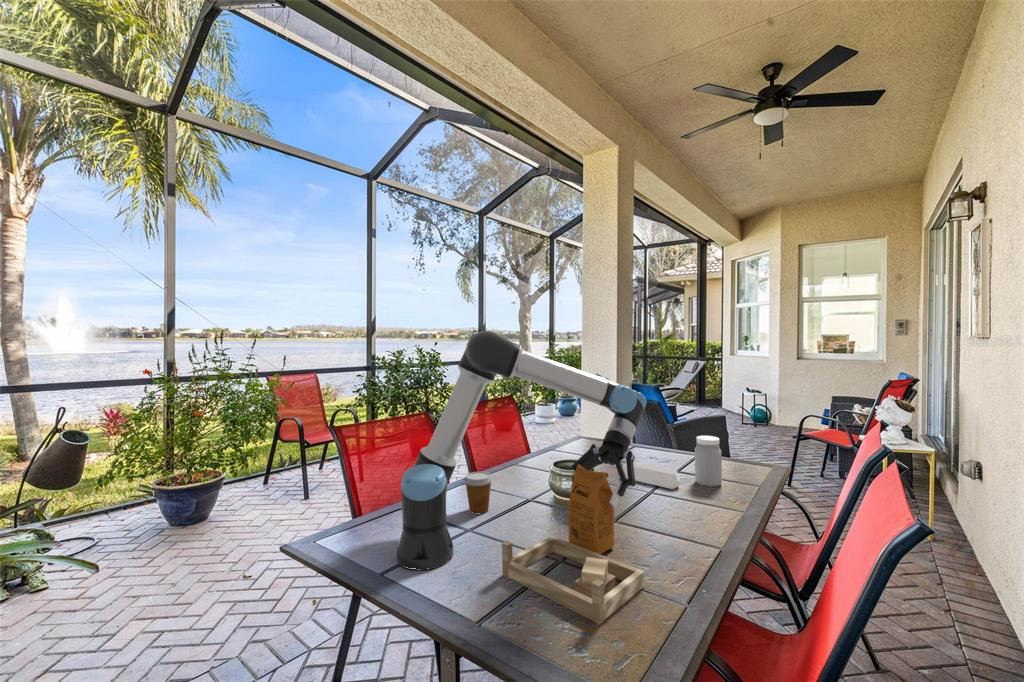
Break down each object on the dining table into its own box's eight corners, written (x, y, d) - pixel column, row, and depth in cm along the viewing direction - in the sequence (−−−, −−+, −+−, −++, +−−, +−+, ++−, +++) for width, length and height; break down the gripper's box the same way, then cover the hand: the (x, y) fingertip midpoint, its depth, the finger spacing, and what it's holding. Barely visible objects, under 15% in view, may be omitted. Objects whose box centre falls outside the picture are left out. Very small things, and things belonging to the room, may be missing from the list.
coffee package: (587, 533, 135) (586, 460, 135) (619, 549, 125) (618, 469, 124) (562, 542, 129) (561, 466, 129) (594, 560, 119) (592, 477, 119)
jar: (689, 481, 179) (688, 436, 179) (707, 478, 184) (706, 434, 183) (709, 489, 171) (709, 441, 170) (727, 485, 175) (727, 438, 174)
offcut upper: (603, 588, 101) (603, 575, 101) (581, 584, 103) (581, 571, 103) (607, 572, 108) (607, 560, 108) (587, 569, 110) (586, 556, 110)
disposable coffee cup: (480, 518, 147) (479, 481, 147) (459, 512, 153) (458, 476, 153) (498, 509, 155) (498, 474, 155) (477, 503, 161) (477, 469, 160)
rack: (599, 624, 93) (599, 586, 92) (502, 575, 112) (502, 543, 112) (645, 586, 106) (644, 552, 106) (551, 548, 126) (551, 519, 126)
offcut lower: (597, 604, 100) (597, 590, 100) (575, 594, 104) (574, 581, 104) (615, 588, 106) (615, 576, 106) (593, 579, 110) (593, 567, 110)
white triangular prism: (685, 475, 176) (629, 464, 192) (679, 469, 171) (622, 458, 188) (682, 494, 173) (625, 481, 190) (675, 489, 169) (617, 476, 185)
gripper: (662, 450, 130) (636, 518, 119) (589, 437, 147) (562, 495, 137) (653, 434, 126) (625, 503, 116) (579, 423, 143) (550, 482, 133)
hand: (591, 499), depth 126 cm, fingers open, 13 cm apart
